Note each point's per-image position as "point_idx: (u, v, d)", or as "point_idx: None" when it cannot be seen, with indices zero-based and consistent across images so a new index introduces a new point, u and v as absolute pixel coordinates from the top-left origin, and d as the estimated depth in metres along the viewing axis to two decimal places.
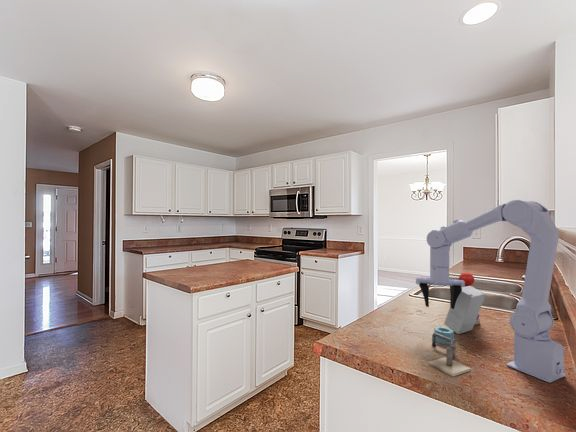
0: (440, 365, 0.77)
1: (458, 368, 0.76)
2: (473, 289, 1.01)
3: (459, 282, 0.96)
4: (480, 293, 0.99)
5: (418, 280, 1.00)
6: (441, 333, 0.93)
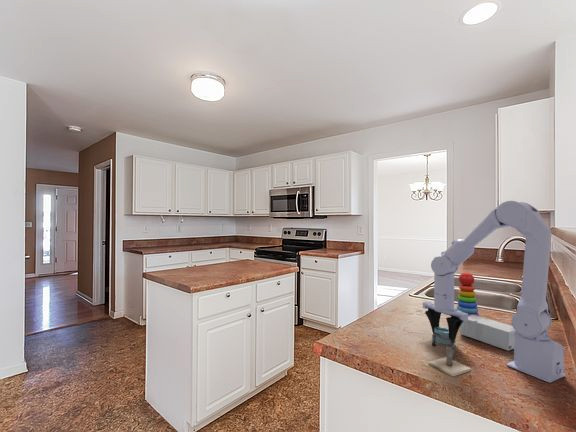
0: (440, 365, 0.77)
1: (458, 368, 0.76)
2: None
3: (458, 314, 0.89)
4: None
5: (424, 304, 1.01)
6: (441, 333, 0.93)
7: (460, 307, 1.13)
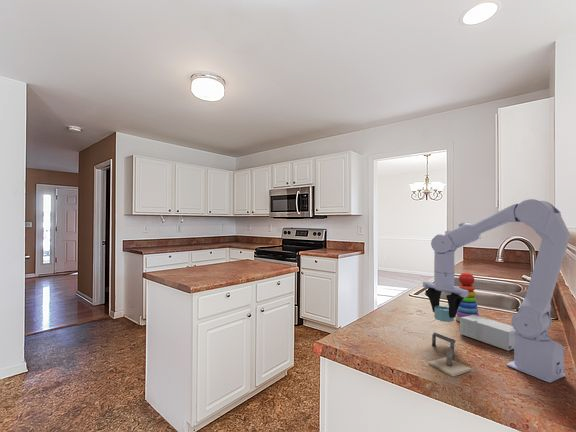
0: (440, 365, 0.77)
1: (458, 368, 0.76)
2: None
3: (458, 291, 0.89)
4: None
5: (424, 283, 1.01)
6: (441, 311, 0.93)
7: (460, 307, 1.13)
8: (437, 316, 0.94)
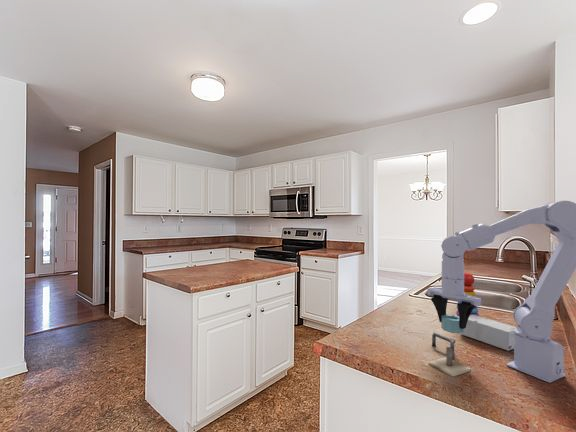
0: (440, 365, 0.77)
1: (458, 368, 0.76)
2: None
3: (471, 299, 0.80)
4: None
5: (428, 290, 0.91)
6: (451, 321, 0.83)
7: None
8: (446, 327, 0.84)
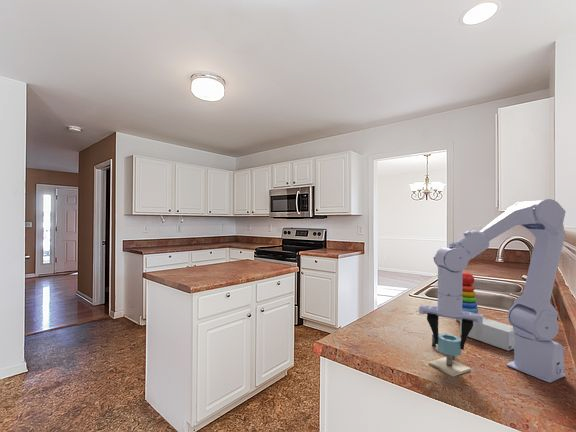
0: (440, 365, 0.77)
1: (458, 368, 0.76)
2: None
3: (475, 317, 0.74)
4: None
5: (421, 309, 0.81)
6: (453, 343, 0.75)
7: None
8: (447, 350, 0.76)
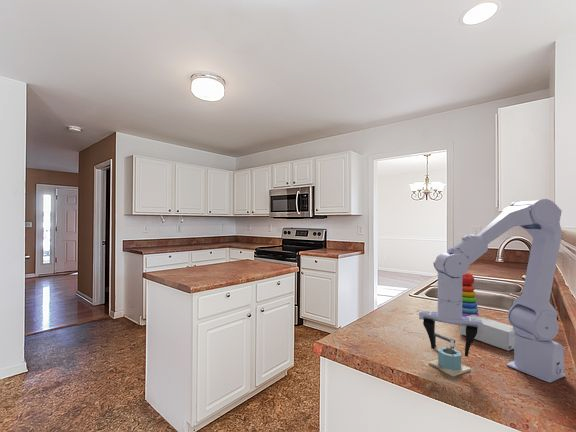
0: None
1: None
2: None
3: (475, 323, 0.74)
4: None
5: (421, 314, 0.80)
6: (453, 358, 0.75)
7: None
8: (447, 364, 0.76)
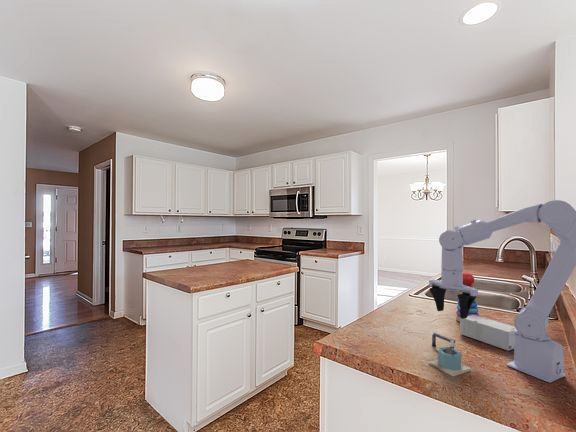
0: None
1: None
2: None
3: (467, 289, 0.85)
4: None
5: (430, 282, 0.96)
6: (453, 358, 0.75)
7: None
8: (447, 364, 0.76)
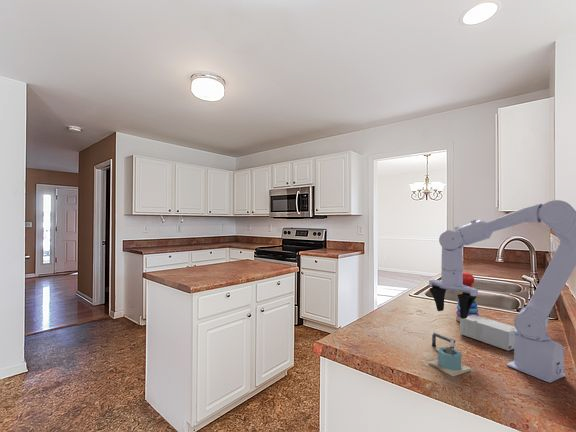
0: None
1: None
2: None
3: (467, 289, 0.85)
4: None
5: (430, 282, 0.96)
6: (453, 358, 0.75)
7: None
8: (447, 364, 0.76)
